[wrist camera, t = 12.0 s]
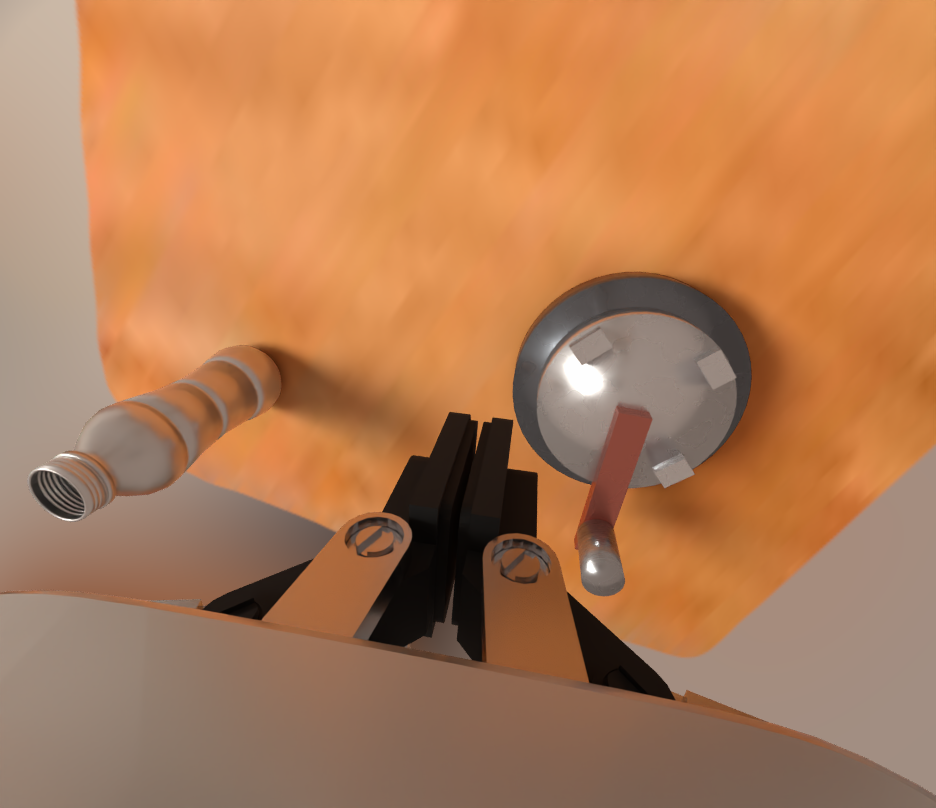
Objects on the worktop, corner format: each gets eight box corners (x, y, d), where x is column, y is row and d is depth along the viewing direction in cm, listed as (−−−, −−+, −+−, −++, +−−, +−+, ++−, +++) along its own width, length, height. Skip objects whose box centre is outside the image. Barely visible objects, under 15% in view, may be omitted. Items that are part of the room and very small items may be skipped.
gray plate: (542, 251, 35) (542, 255, 32) (776, 297, 34) (797, 306, 31) (496, 445, 43) (493, 462, 40) (685, 488, 41) (695, 509, 39)
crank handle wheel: (754, 325, 32) (825, 366, 24) (663, 539, 40) (692, 621, 32) (558, 291, 33) (563, 320, 25) (510, 507, 41) (502, 579, 33)
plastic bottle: (270, 331, 41) (60, 432, 23) (302, 396, 44) (133, 534, 26) (215, 348, 43) (-22, 455, 25) (248, 410, 45) (53, 549, 27)
